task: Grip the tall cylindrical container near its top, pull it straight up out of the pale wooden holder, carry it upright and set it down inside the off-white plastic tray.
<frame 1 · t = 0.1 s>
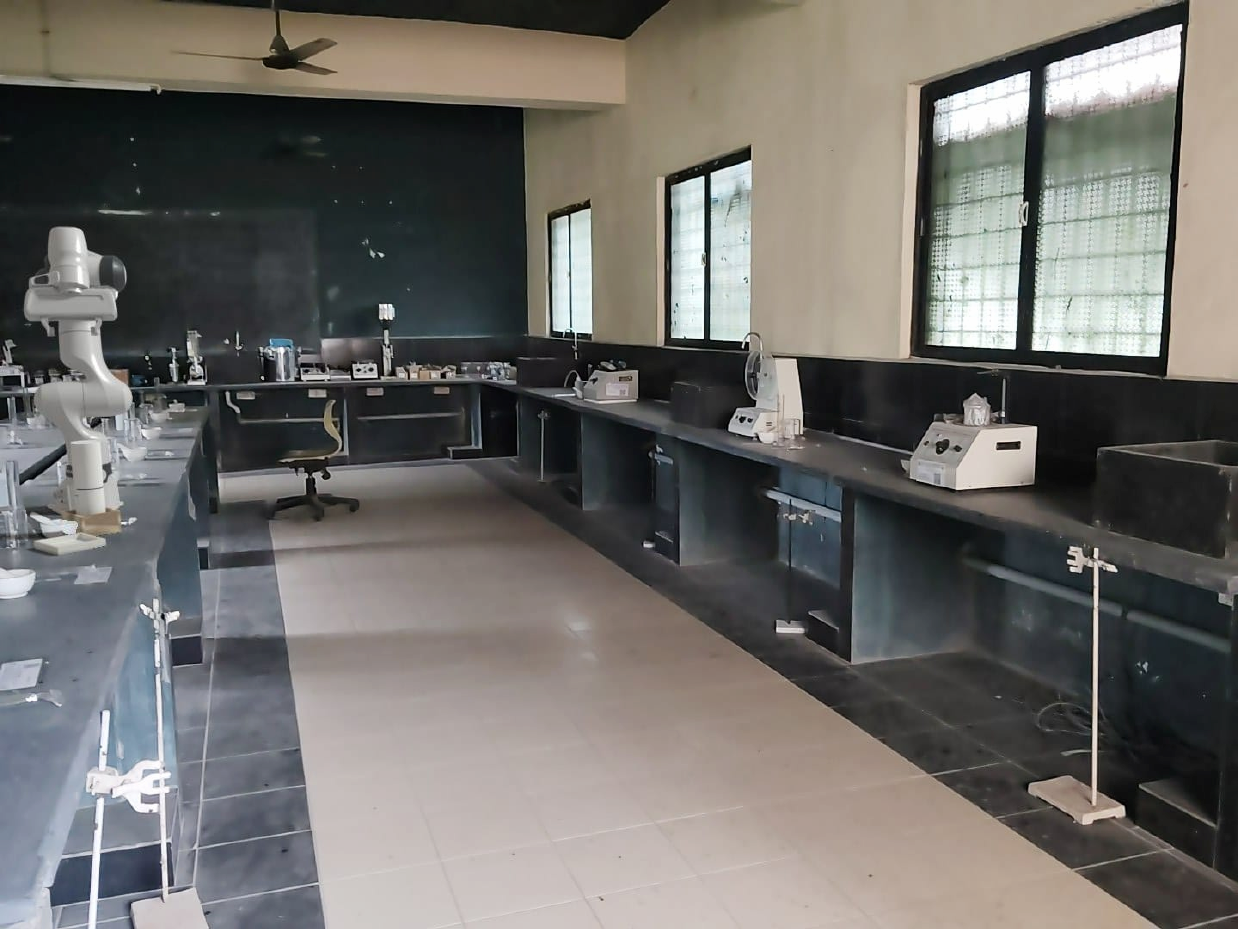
hand: (72, 335, 249), 54 cm above the counter, tool tilted 30°, fingers open, 8 cm apart
holder: (92, 532, 277), on the counter
tray: (70, 547, 260), on the counter
cylindrical container: (92, 533, 277), resting in holder
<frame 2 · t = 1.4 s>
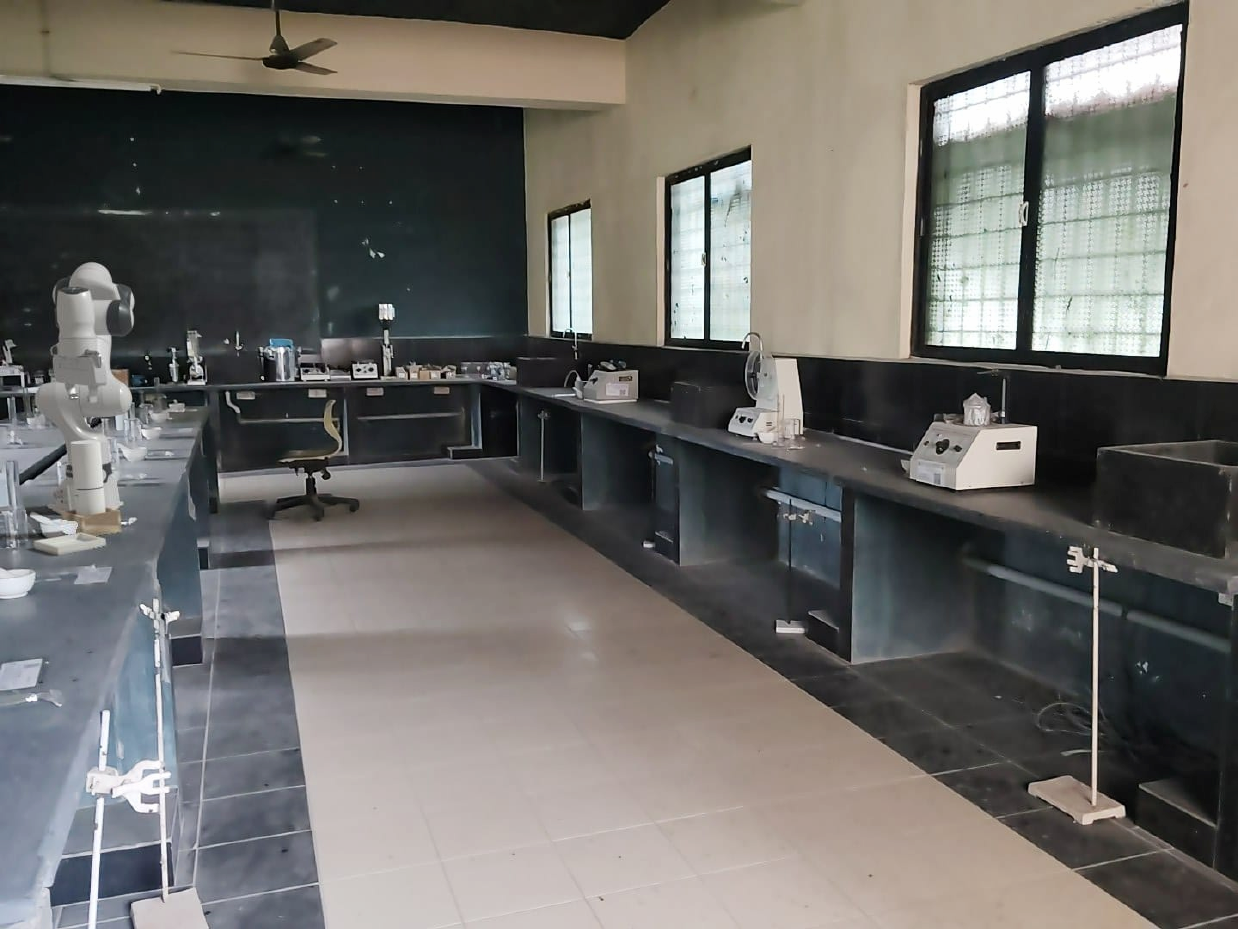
hand: (82, 401, 271), 36 cm above the counter, tool pointing down, fingers open, 8 cm apart
nothing on the counter moved.
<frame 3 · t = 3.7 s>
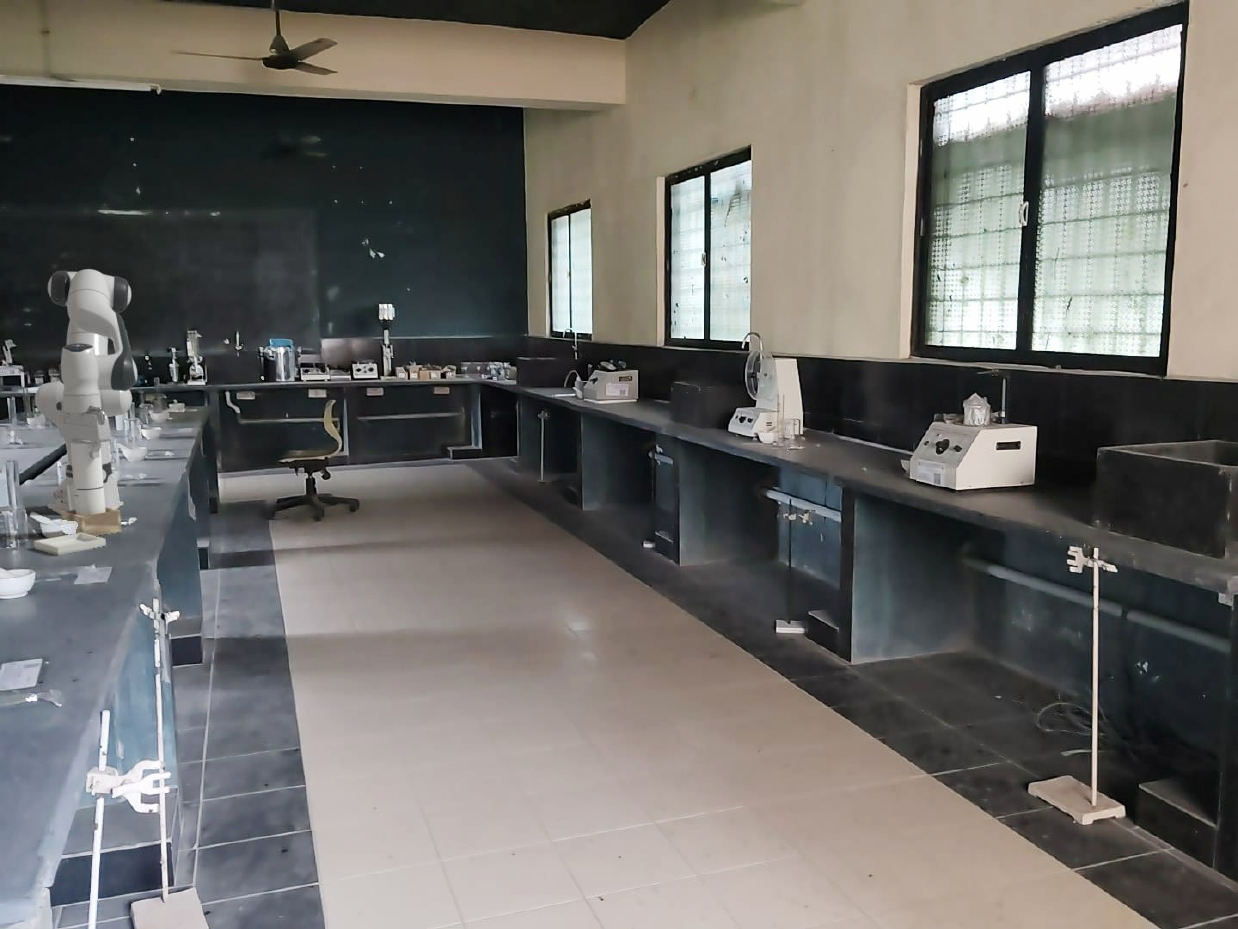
hand: (86, 456, 273), 21 cm above the counter, tool pointing down, fingers closed on cylindrical container, 7 cm apart
cylindrical container: (92, 533, 277), resting in holder, touching gripper
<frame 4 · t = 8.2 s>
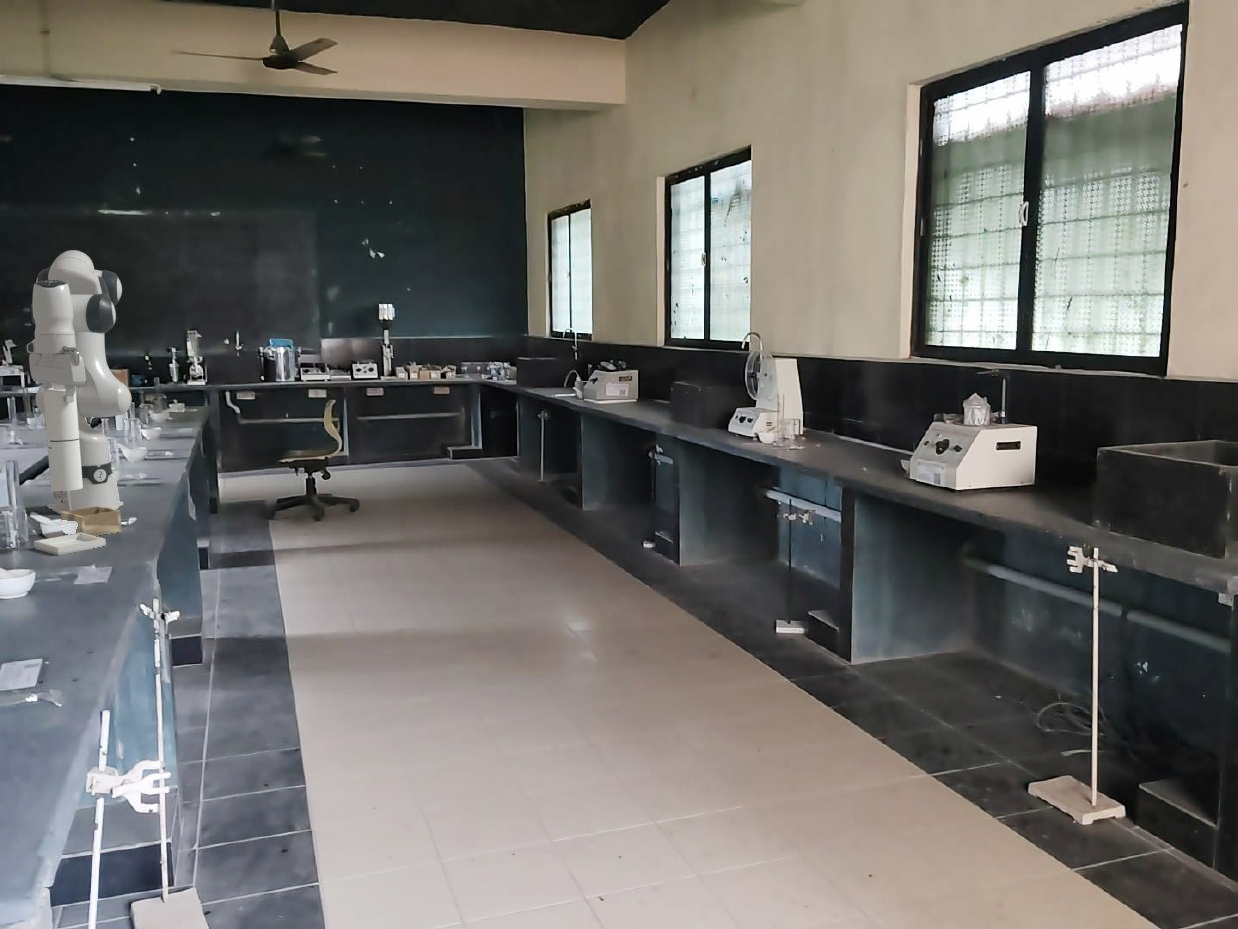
hand: (60, 401, 255), 37 cm above the counter, tool pointing down, fingers closed on cylindrical container, 7 cm apart
cylindrical container: (67, 489, 259), point 15 cm above the counter, touching gripper
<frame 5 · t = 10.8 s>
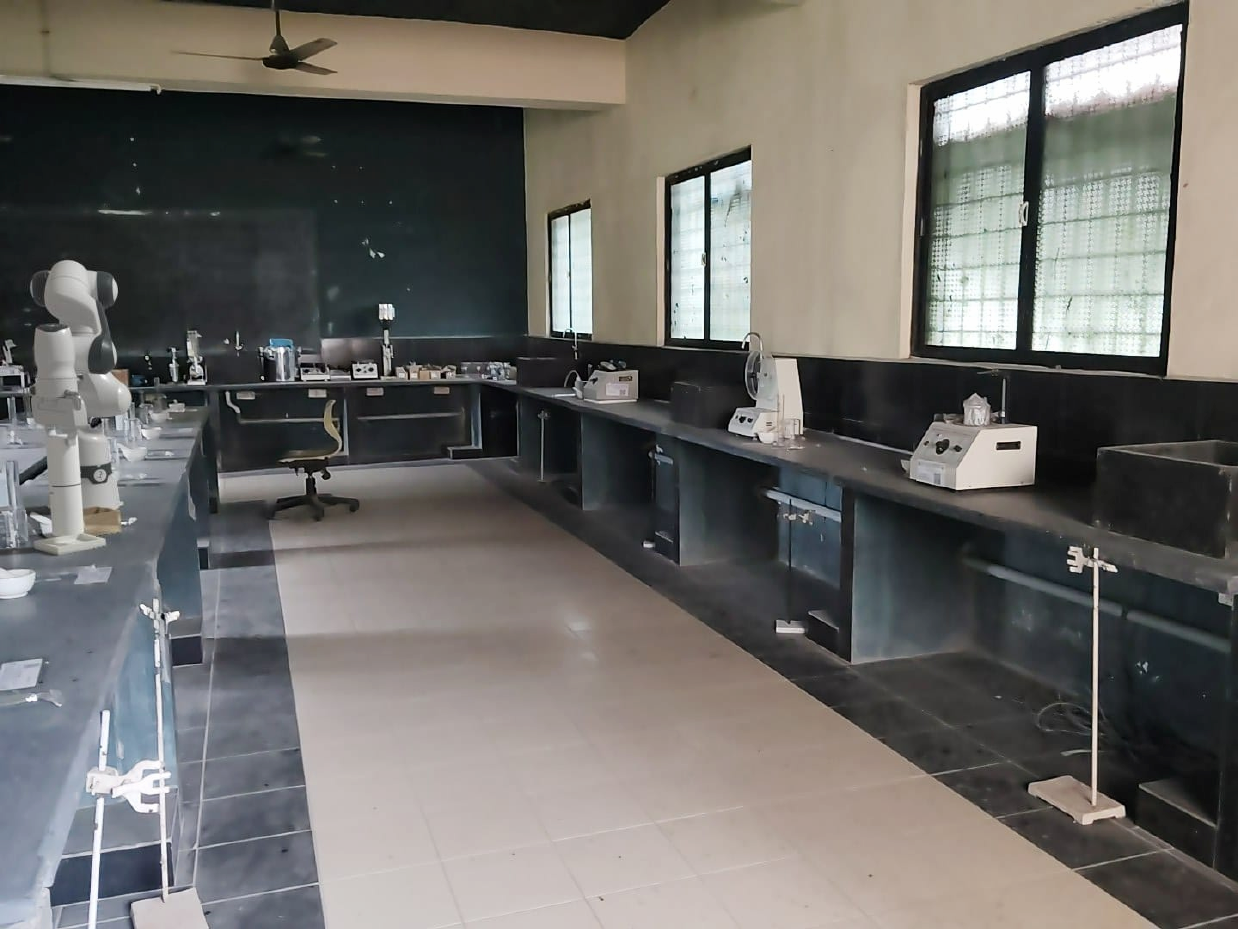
hand: (62, 444, 256), 27 cm above the counter, tool pointing down, fingers closed on cylindrical container, 7 cm apart
cylindrical container: (68, 533, 260), point 4 cm above the counter, touching gripper
when the fingers open (24 cm above the counter, at t = 12.8 s): cylindrical container stays where it is, resting on tray.
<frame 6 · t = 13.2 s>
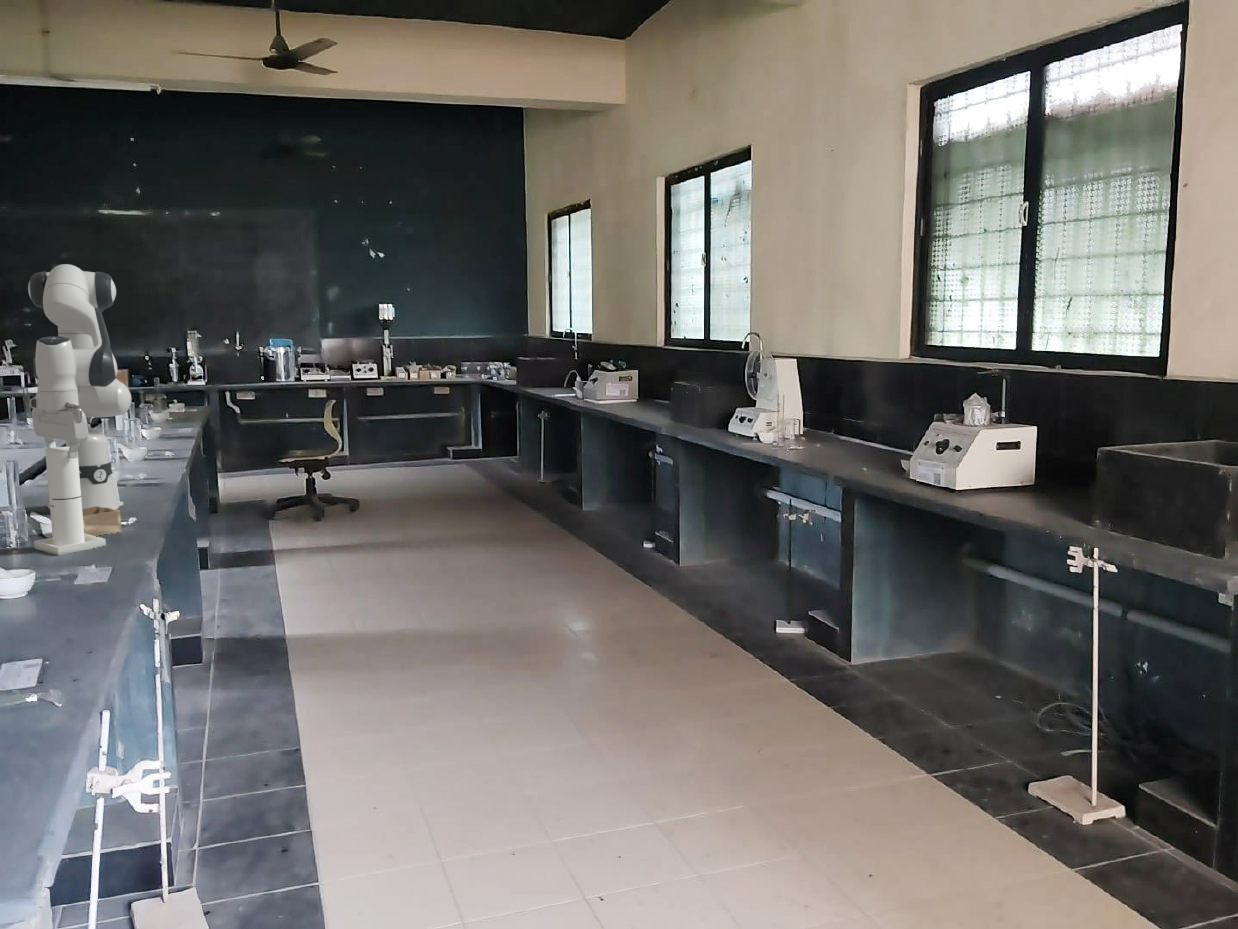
hand: (63, 456, 256), 24 cm above the counter, tool pointing down, fingers open, 8 cm apart
cylindrical container: (69, 546, 260), resting on tray
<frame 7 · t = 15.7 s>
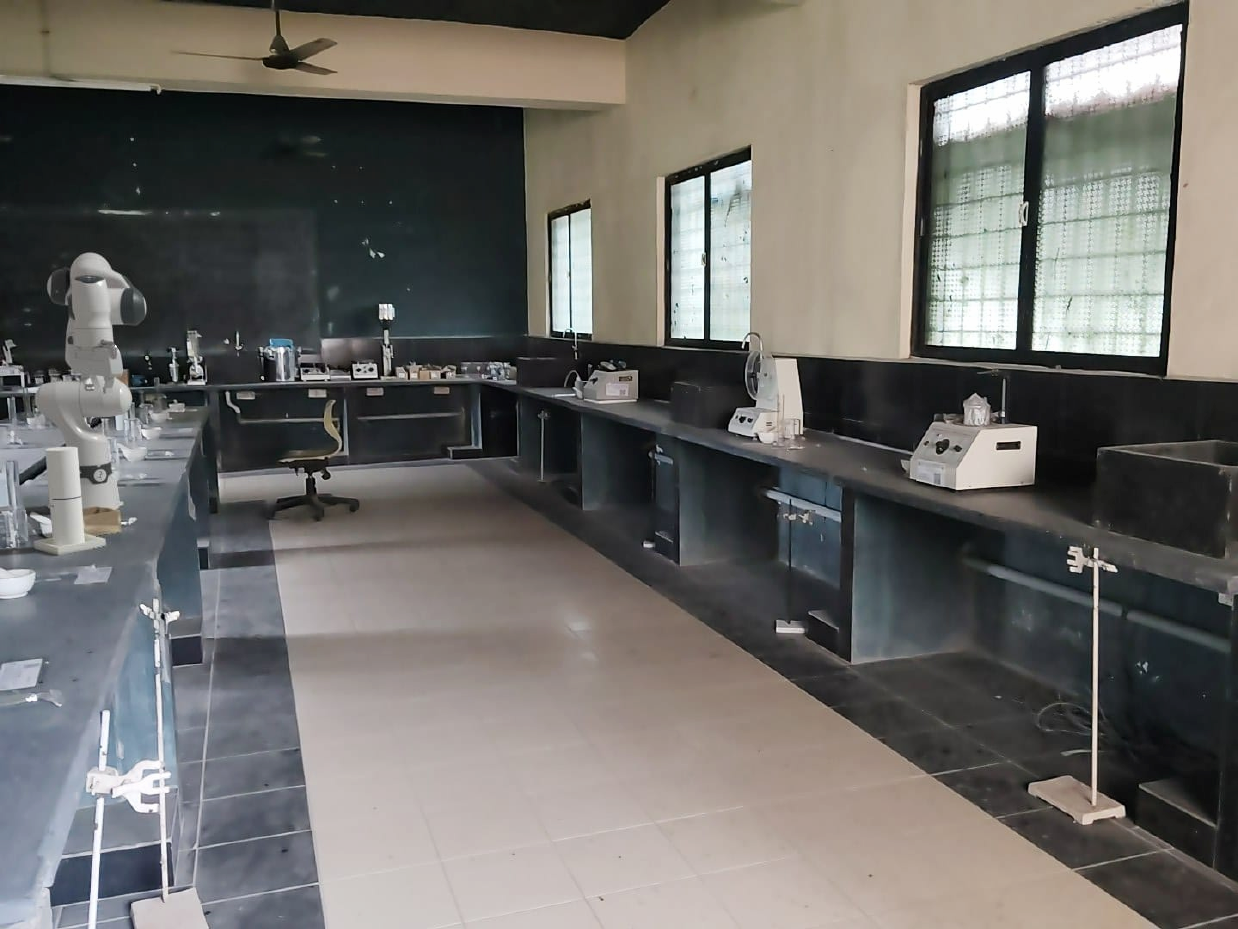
hand: (98, 392, 266), 39 cm above the counter, tool pointing down, fingers open, 8 cm apart
nothing on the counter moved.
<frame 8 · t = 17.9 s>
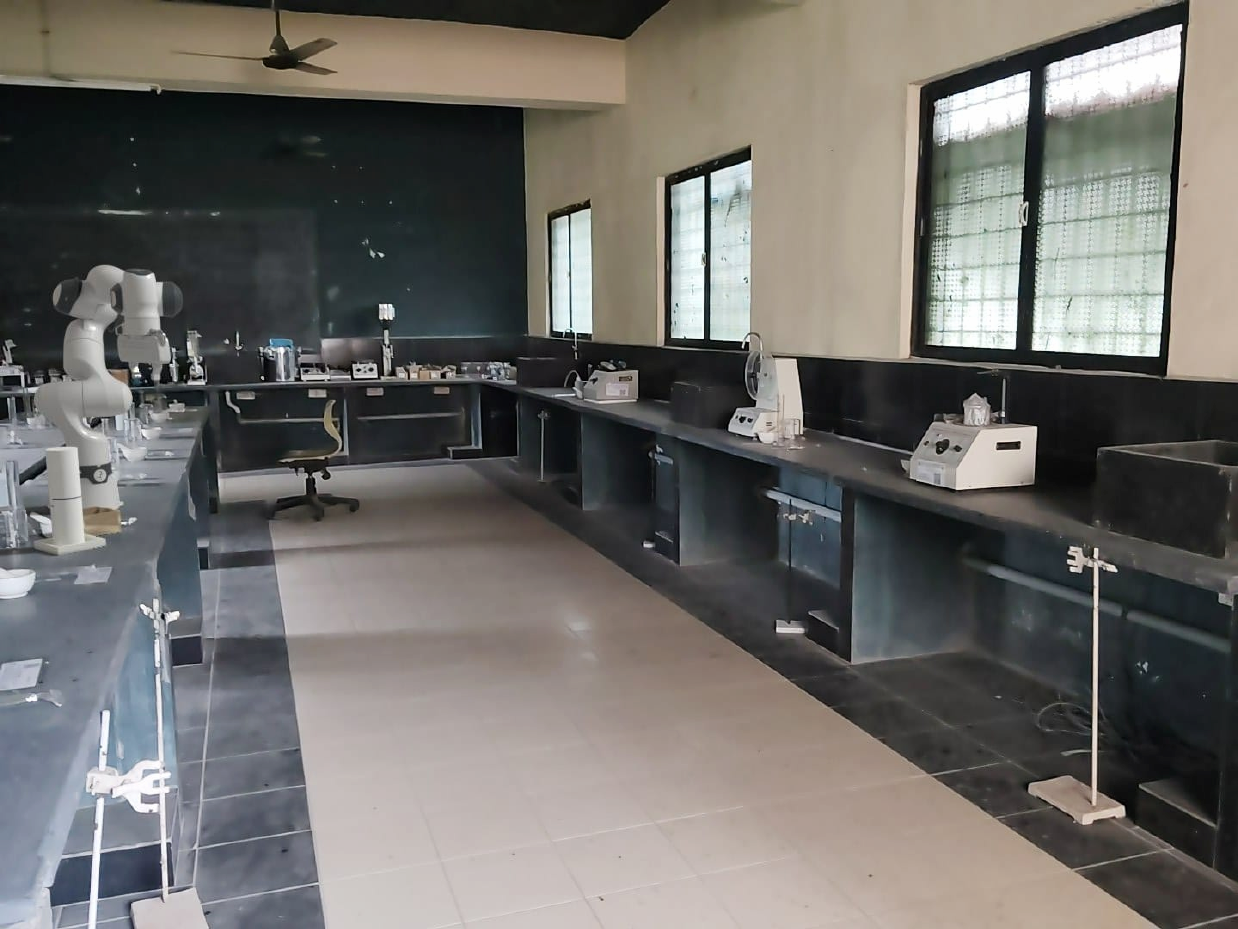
hand: (146, 379, 281), 41 cm above the counter, tool pointing down, fingers open, 8 cm apart
nothing on the counter moved.
at the end: cylindrical container 0.2 cm off-centre on the tray, point 0.4 cm above the tray's base; cylindrical container tilted 0°; the gripper is holding nothing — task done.
